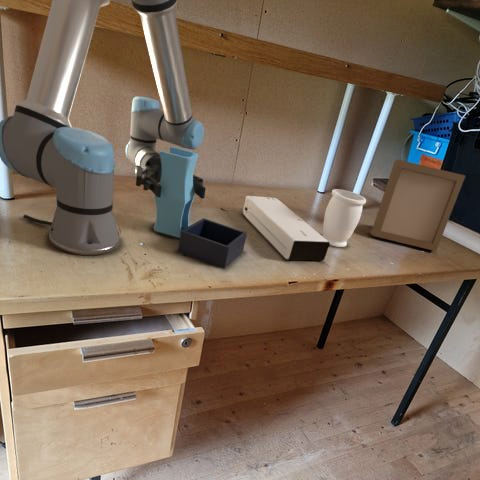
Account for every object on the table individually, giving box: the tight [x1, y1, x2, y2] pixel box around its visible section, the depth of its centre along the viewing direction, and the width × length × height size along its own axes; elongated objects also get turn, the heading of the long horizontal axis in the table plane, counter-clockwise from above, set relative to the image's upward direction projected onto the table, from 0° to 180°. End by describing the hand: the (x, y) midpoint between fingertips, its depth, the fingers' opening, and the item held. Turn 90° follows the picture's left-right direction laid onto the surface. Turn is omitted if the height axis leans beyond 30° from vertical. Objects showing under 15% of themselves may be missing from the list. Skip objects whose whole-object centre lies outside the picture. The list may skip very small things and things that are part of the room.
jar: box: [321, 188, 367, 248], centre depth 125 cm, size 11×10×15 cm
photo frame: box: [370, 159, 466, 252], centre depth 139 cm, size 15×22×25 cm
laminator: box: [242, 195, 330, 262], centre depth 122 cm, size 34×12×6 cm, turn 22°
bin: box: [177, 217, 248, 269], centre depth 104 cm, size 13×13×6 cm
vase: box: [153, 145, 199, 239], centre depth 106 cm, size 8×8×20 cm
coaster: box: [154, 228, 185, 239], centre depth 111 cm, size 9×9×1 cm
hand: (182, 192), depth 102 cm, fingers closed on vase, 11 cm apart
